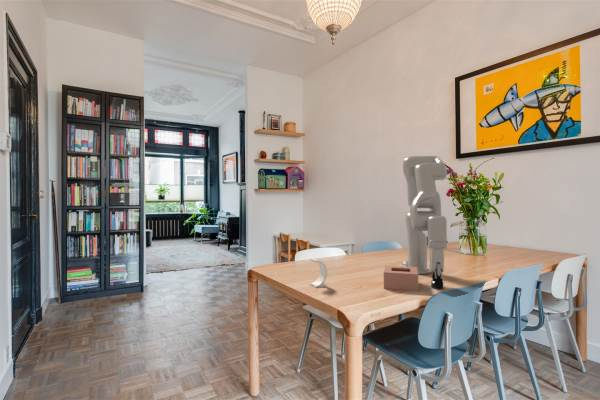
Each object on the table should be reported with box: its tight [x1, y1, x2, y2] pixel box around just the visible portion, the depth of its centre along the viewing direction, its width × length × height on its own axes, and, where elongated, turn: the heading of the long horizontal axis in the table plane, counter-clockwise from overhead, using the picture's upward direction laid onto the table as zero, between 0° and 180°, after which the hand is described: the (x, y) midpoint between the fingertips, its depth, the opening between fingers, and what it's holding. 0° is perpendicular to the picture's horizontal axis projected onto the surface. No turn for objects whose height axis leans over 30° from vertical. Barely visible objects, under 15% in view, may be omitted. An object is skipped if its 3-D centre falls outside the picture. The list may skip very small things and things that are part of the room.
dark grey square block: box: [430, 280, 444, 291], centre depth 140 cm, size 5×5×3 cm
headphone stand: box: [309, 258, 328, 289], centre depth 146 cm, size 5×6×12 cm
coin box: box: [383, 265, 419, 292], centre depth 144 cm, size 14×14×7 cm
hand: (437, 284), depth 140 cm, fingers open, 8 cm apart
